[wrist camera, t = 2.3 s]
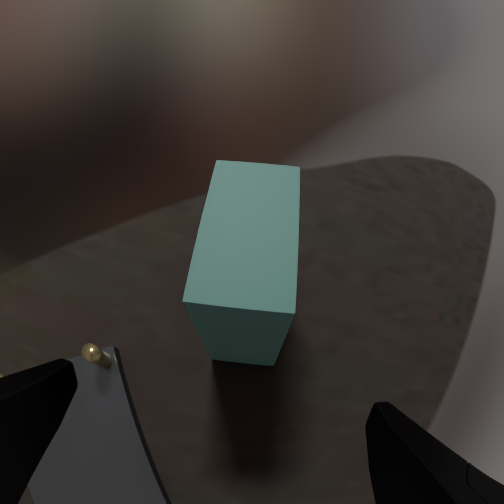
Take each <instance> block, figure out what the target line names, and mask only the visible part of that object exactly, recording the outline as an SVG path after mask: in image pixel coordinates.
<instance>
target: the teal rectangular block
mask: <svg viewBox="0 0 504 504" xmlns="http://www.w3.org/2000/svg"><path fill="white" fill-rule="evenodd" d="M299 194H300V167H292V166H284V165H274V164H262V163H250V162H236V161H221V160H217V161H216V165H215V168H214V172H213V176H212V179H211V183H210V187H209V191H208V195H207V198H206V202H205V206H204V210H203V214H202V218H201V222H200V226H199V231H198V235H197V239H196V243H195V247H194V252H193V256H192V260H191V265H190V269H189V274H188V278H187V283H186V287H185V292H184V297H183V303H184V306H185V308H186V310H187V312H188V314H189V316H190V318H191V320H192V322H193V324H194V326H195V328H196V330H197V332H198V334H199V336H200V337H201V339H202V341H203V343H204V345H205V347H206V349H207V351H208V353H209V355H210V357H211V358H212V359H214V360H221V361H229V362H238V363H247V364H256V365H267V366H274V364H275V362H276V359H277V357H278V354H279V352H280V350H281V347H282V345H283V342H284V340H285V337H286V335H287V333H288V330H289V328H290V325H291V323H292V320H293V318H294V315H295V306H296V287H297V264H298V236H299Z"/></svg>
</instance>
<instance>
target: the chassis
mask: <svg viewBox="0 0 504 504" xmlns="http://www.w3.org/2000/svg"><path fill="white" fill-rule="evenodd" d="M66 360H69V361H71V362H72V363H73V365H74V369H75V373H76V377H77V381H78V387H77V390H76V392H75V395H74V397H73V399H72V401H71V403H70V405H69V408H68V410H67V412H66V414H65V417H64V419H63V421H62V423H61V425H60V427H59V429H58V430H57V432H56V434H55V436H54V437H53V439H52V441H51V443H50V444H49V446H48V448H47V450H46V451H45V453H44V455H43V457H42V459H41V460H40V462H39V464H38V466H37V468H36V470H35V471H34V473H33V475H32V477H31V479H30V481H29V483H28V487H29V490H30V493H31V495H32V498H33V501H34V503H35V504H171V502H170V500H169V497H168V495H167V493H166V491H165V488H164V486H163V484H162V481H161V479H160V477H159V474H158V472H157V469H156V467H155V464H154V462H153V459H152V457H151V454H150V451H149V449H148V446H147V443H146V441H145V438H144V435H143V432H142V429H141V426H140V423H139V420H138V417H137V414H136V411H135V408H134V405H133V402H132V398H131V395H130V392H129V388H128V385H127V381H126V377H125V374H124V370H123V366H122V362H121V358H120V354H119V350H118V348H116V347H115V346H110V347H107V348H103V349H100V348H98V347H97V346H95V345H93V344H91V343H88V344H86V345H84V347H83V348H82V355H80V356H77V357H73V358H70V359H66ZM4 376H6V375H4V374H1V373H0V378H1V377H4Z"/></svg>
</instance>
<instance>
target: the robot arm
mask: <svg viewBox="0 0 504 504" xmlns="http://www.w3.org/2000/svg"><path fill="white" fill-rule="evenodd" d="M77 387H78V381H77V377H76V373H75V369H74V365H73V363H72V362H71V361H69V360H66V359H62V358H60V359H57V360H54V361H51V362H48V363H45V364H42V365H39V366H36V367H33V368H29V369H26V370H23V371H20V372H17V373H14V374H11V375H7V376H4V377H1V378H0V504H18V502H19V500H20V498H21V496H22V494H23V493H24V491H25V489H26V487H27V485H28V483H29V481H30V479H31V477H32V475H33V473H34V471H35V470H36V468H37V466H38V464H39V462H40V460H41V459H42V457H43V455H44V453H45V451H46V450H47V448H48V446H49V444H50V443H51V441H52V439H53V437H54V436H55V434H56V432H57V430H58V429H59V427H60V425H61V423H62V421H63V419H64V417H65V414H66V412H67V410H68V408H69V405H70V403H71V401H72V399H73V397H74V395H75V392H76V390H77ZM365 430H366V440H367V450H368V462H369V472H370V477H371V482H372V487H373V492H374V497H375V502H376V504H504V485H502V484H501V483H499V482H497V481H495V480H494V479H492V478H490V477H489V476H487V475H486V474H484V473H483V472H481V471H480V470H479V469H477V468H476V467H474V466H473V465H471V464H470V463H467V461H466V460H465V459H463V458H462V457H460V456H459V455H458V454H456V453H455V452H454V451H452V450H451V449H450V448H448V447H447V446H446V445H444V444H443V443H442V442H440V441H439V440H438V439H436V438H435V437H433V436H432V435H431V434H430V433H428V432H427V431H426V430H424V429H423V428H422V427H420V426H419V425H418V424H416V423H415V422H414V421H413V420H411V419H410V418H409V417H407V416H406V415H405V414H403V413H402V412H401V411H400V410H398V409H397V408H396V407H394V406H393V405H392V404H391V403H389V402H376V403H374V405H373V407H372V409H371V412H370V414H369V417H368V419H367V422H366V427H365Z"/></svg>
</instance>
